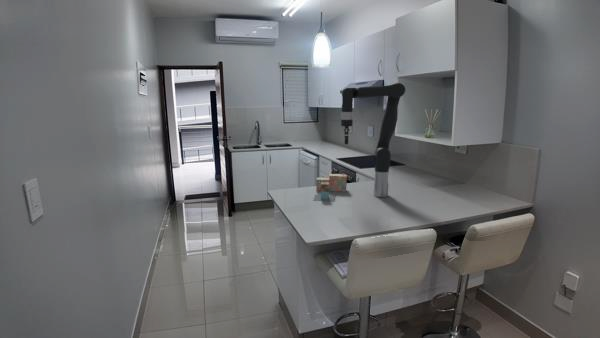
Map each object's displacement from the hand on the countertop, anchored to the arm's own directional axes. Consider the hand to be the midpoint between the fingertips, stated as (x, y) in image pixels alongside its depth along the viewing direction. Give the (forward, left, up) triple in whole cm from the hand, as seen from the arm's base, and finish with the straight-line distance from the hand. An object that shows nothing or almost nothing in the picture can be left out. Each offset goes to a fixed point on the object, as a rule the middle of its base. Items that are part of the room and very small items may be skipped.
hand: (346, 143), depth 219 cm
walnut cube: (+13, +13, -30) cm, 35 cm away
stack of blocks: (+10, -8, -36) cm, 38 cm away
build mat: (+13, +13, -36) cm, 40 cm away
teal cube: (+13, +13, -35) cm, 39 cm away
